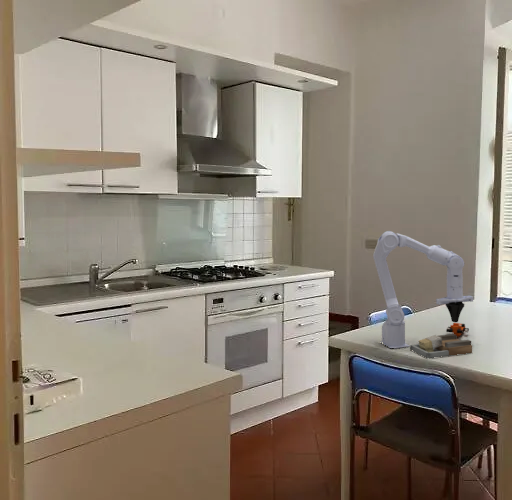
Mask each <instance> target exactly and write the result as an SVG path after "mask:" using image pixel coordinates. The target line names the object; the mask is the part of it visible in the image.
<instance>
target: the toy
mask: <svg viewBox="0 0 512 500" xmlns="http://www.w3.org/2000/svg"><path fill="white" fill-rule="evenodd" d="M469 330H470V329H469V328H468V327H466V324H465V323H461V322H460V323H459V322H453V323H452V324H450V326H448V327H446V330H445V331H446V333H452V334H455V335H457V337H461V335H462V334H463V333H469Z"/></svg>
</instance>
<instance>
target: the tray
mask: <svg viewBox="0 0 512 500" xmlns="http://www.w3.org/2000/svg"><path fill="white" fill-rule="evenodd" d="M409 345H410V347H409V349H411V350H413V351H414V352H413V351H412V352H413V353H415V352H416V353H415V354H417V353H418V354H417V355H419V354H420V355H419V356H421V355H422V356H421V357H423V356H424V357H423V358H425V357H426V358H425V359H427V358H432V359H435V358H434V357H440V358H442V357H441V356H448V357H450V356H449V351H448V350H445V351H440V350H437V349H435V348H433V351H434V352H427V351H425V350H423V349H421V348H420V346H419V343H416V344H409ZM411 350H410V351H411Z"/></svg>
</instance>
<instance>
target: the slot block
mask: <svg viewBox="0 0 512 500" xmlns="http://www.w3.org/2000/svg"><path fill="white" fill-rule="evenodd" d="M438 336H439V337H441V339H442V344H443V346H439V347H436V348H435V349H437V350H440V351H445V350H448V351H449V355H456V356H458V355H457V354H464V355H467V354H466V353H472V354H473V344H472V340H470V339H462V340H460V339H458V338H457V337H458V336H457V335H455V334H454V333H449V334H440V335H438Z"/></svg>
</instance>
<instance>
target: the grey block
mask: <svg viewBox="0 0 512 500" xmlns="http://www.w3.org/2000/svg"><path fill="white" fill-rule="evenodd" d="M426 339H428V340H430V341H432V346H433V348H436V347H439V346H443V344H442V339H441V337H439V335H437V334H435V335H431V336H427V337H426Z"/></svg>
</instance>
